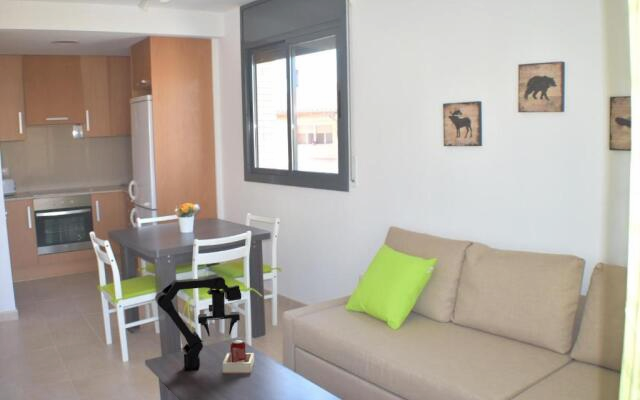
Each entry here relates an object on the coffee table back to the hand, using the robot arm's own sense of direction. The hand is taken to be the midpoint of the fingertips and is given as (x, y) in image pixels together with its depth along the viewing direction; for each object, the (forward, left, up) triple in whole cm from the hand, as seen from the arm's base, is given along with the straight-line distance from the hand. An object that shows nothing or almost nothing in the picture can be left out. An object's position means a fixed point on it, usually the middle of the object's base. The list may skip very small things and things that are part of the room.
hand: (219, 335), depth 270 cm
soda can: (+8, -8, -13) cm, 17 cm away
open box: (+8, -8, -13) cm, 17 cm away
